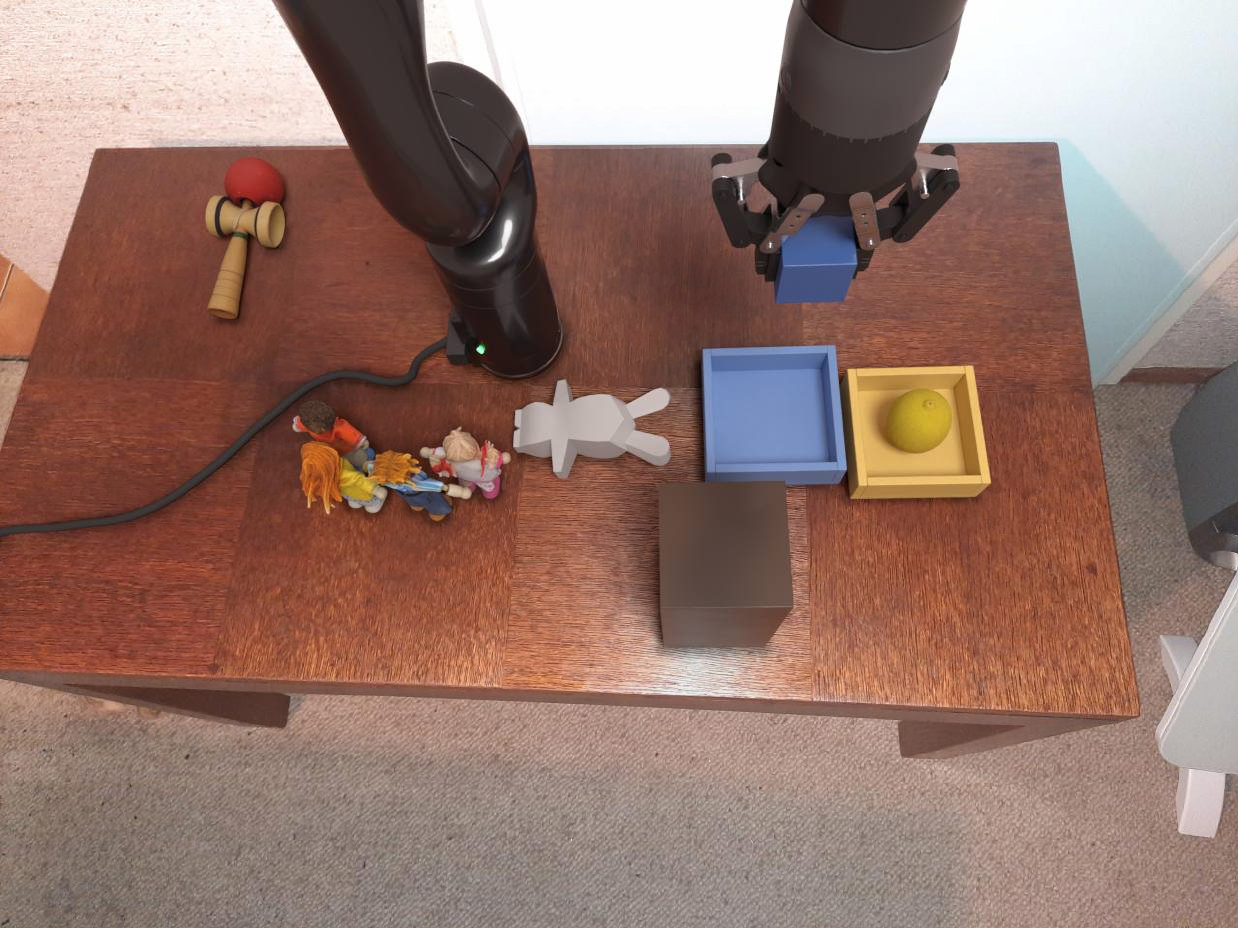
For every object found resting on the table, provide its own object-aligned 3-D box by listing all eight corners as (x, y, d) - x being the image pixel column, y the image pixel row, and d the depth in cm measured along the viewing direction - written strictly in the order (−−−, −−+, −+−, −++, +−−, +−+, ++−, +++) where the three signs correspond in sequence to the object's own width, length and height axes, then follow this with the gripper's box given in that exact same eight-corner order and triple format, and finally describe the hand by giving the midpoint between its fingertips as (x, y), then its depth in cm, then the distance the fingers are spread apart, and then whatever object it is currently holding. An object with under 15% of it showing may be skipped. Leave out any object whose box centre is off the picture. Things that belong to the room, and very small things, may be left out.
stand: (663, 647, 77) (660, 608, 58) (662, 550, 80) (658, 482, 61) (764, 647, 76) (793, 607, 57) (759, 549, 79) (785, 480, 61)
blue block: (774, 304, 56) (782, 266, 52) (771, 245, 58) (778, 204, 54) (844, 302, 56) (857, 264, 52) (838, 243, 57) (851, 201, 53)
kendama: (276, 327, 92) (307, 175, 96) (236, 304, 86) (271, 142, 90) (216, 326, 94) (249, 177, 98) (173, 303, 88) (210, 146, 92)
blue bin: (705, 486, 82) (706, 472, 78) (701, 367, 86) (702, 348, 82) (838, 484, 81) (847, 469, 77) (828, 364, 85) (835, 345, 81)
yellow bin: (850, 499, 80) (858, 485, 77) (839, 386, 84) (847, 368, 80) (976, 497, 80) (991, 483, 76) (959, 383, 84) (973, 365, 80)
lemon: (948, 435, 81) (976, 401, 74) (913, 476, 80) (937, 445, 73) (901, 400, 83) (923, 363, 75) (865, 439, 82) (884, 406, 74)
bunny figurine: (512, 376, 82) (666, 366, 80) (527, 398, 87) (673, 389, 85) (506, 469, 79) (666, 462, 77) (522, 486, 84) (673, 480, 81)
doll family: (526, 473, 83) (500, 421, 71) (500, 567, 80) (469, 530, 68) (324, 434, 86) (265, 377, 74) (291, 523, 83) (224, 480, 71)
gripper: (1004, 2, 41) (911, 217, 57) (706, 16, 42) (697, 224, 58) (1028, 128, 39) (924, 316, 55) (711, 140, 39) (700, 322, 56)
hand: (808, 268), depth 56 cm, fingers closed on blue block, 4 cm apart
